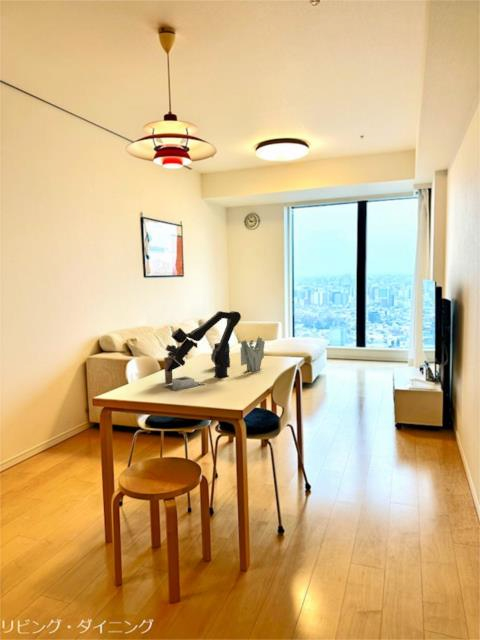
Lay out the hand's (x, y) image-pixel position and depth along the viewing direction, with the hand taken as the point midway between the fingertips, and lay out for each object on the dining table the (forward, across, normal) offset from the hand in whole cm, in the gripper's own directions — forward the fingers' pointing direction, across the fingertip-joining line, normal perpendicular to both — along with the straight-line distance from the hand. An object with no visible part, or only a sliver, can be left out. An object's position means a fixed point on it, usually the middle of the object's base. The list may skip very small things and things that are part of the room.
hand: (165, 370), depth 244 cm
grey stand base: (0, +12, +10) cm, 15 cm away
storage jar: (-25, -28, +35) cm, 51 cm away
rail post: (+4, 0, +6) cm, 7 cm away
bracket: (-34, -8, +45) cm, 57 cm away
